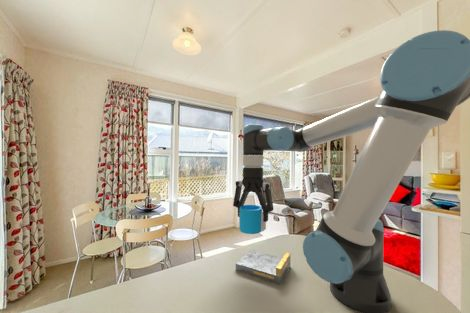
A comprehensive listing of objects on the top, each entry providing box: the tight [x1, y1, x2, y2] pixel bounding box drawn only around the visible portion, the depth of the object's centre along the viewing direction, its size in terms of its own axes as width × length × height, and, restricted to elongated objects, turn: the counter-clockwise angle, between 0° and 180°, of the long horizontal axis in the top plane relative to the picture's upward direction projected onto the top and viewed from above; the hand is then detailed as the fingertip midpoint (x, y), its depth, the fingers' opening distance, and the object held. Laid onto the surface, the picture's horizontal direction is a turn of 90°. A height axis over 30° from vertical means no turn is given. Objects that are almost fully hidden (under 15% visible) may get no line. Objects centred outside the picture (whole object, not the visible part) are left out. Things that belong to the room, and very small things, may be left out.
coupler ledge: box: [235, 249, 291, 286], centre depth 73 cm, size 16×12×5 cm
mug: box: [239, 204, 263, 235], centre depth 77 cm, size 12×8×8 cm
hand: (252, 227), depth 76 cm, fingers closed on mug, 8 cm apart
